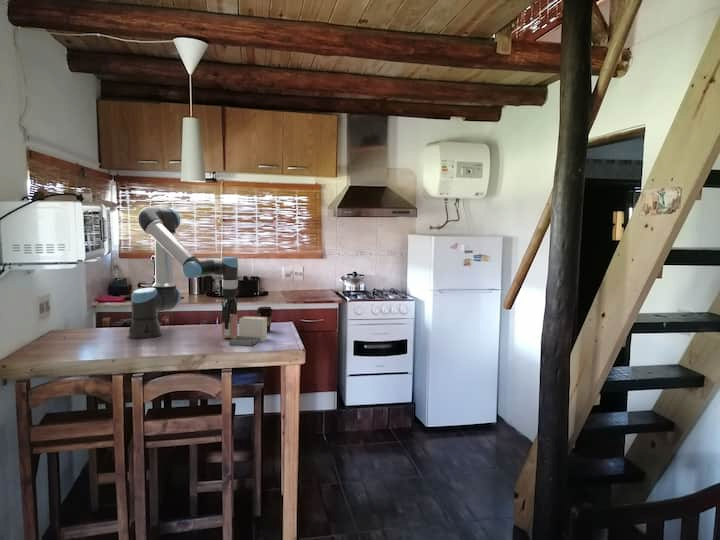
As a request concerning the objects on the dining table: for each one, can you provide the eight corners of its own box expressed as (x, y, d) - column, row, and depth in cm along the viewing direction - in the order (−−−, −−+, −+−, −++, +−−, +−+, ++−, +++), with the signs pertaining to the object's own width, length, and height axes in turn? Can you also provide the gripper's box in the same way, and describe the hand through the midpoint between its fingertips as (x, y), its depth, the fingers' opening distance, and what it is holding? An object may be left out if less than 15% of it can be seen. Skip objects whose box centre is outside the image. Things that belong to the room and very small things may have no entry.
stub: (221, 337, 238) (221, 315, 237) (226, 335, 243) (226, 313, 242) (233, 338, 237) (233, 315, 236) (237, 335, 242) (237, 314, 241)
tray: (229, 344, 227) (229, 340, 226) (237, 340, 236) (237, 335, 235) (252, 346, 225) (252, 341, 225) (259, 341, 234) (259, 337, 234)
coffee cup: (274, 330, 260) (274, 306, 259) (270, 333, 252) (270, 309, 251) (258, 329, 261) (259, 305, 260) (254, 332, 253) (254, 308, 252)
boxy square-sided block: (238, 340, 236) (238, 317, 235) (243, 337, 242) (243, 315, 241) (262, 341, 234) (262, 319, 233) (266, 338, 240) (266, 316, 239)
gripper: (229, 290, 228) (229, 338, 231) (244, 286, 246) (243, 330, 248) (214, 289, 230) (214, 337, 232) (230, 285, 247) (230, 329, 249)
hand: (229, 333), depth 240 cm, fingers closed on stub, 5 cm apart
